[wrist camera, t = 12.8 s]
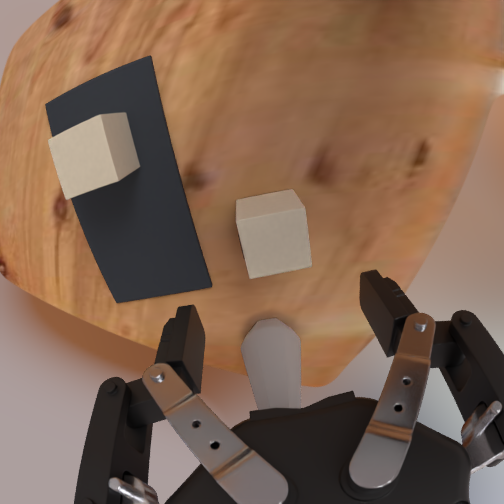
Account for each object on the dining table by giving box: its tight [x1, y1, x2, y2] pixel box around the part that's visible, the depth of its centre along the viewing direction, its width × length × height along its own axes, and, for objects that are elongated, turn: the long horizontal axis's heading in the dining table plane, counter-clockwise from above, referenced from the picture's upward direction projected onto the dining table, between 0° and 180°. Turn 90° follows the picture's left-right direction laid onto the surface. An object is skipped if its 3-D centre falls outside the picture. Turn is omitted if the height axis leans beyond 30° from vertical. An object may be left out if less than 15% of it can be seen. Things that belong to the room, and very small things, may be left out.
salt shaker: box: [241, 318, 301, 410], centre depth 23 cm, size 6×6×13 cm
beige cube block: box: [236, 189, 312, 279], centre depth 21 cm, size 4×5×4 cm
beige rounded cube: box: [48, 112, 140, 200], centre depth 17 cm, size 4×5×4 cm
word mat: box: [45, 56, 212, 303], centre depth 21 cm, size 20×10×1 cm, turn 11°
